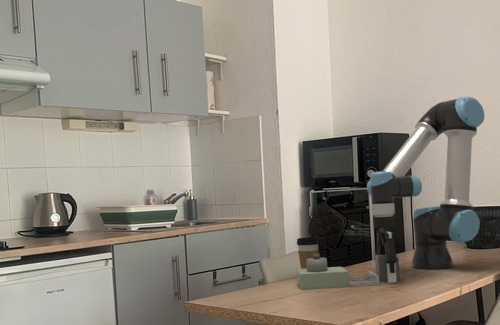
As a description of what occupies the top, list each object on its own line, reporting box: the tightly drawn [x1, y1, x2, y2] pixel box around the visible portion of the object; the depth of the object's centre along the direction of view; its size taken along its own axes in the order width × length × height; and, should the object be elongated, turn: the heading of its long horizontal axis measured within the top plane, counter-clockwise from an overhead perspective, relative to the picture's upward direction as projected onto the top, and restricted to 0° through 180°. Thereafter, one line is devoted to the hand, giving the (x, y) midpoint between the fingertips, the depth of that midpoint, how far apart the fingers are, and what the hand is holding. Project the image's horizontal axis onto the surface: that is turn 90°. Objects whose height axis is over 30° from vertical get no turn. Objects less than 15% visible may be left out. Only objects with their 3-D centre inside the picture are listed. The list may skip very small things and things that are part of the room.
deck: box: [296, 253, 350, 291], centre depth 193 cm, size 16×12×11 cm
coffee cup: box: [296, 236, 320, 269], centre depth 212 cm, size 8×8×15 cm
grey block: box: [374, 254, 401, 283], centre depth 195 cm, size 7×4×9 cm, turn 91°
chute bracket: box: [348, 270, 381, 288], centre depth 193 cm, size 10×13×3 cm
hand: (388, 279), depth 194 cm, fingers open, 10 cm apart
